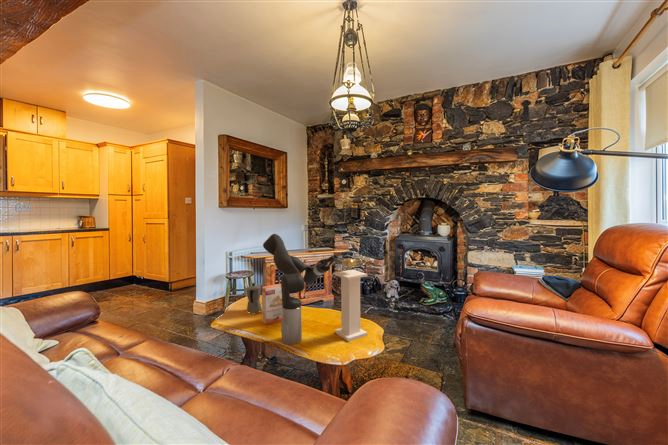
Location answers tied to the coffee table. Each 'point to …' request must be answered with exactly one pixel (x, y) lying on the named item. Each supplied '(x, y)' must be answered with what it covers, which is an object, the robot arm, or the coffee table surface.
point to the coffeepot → (253, 298)
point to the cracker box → (272, 304)
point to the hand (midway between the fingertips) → (335, 257)
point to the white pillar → (350, 305)
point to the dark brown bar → (346, 262)
